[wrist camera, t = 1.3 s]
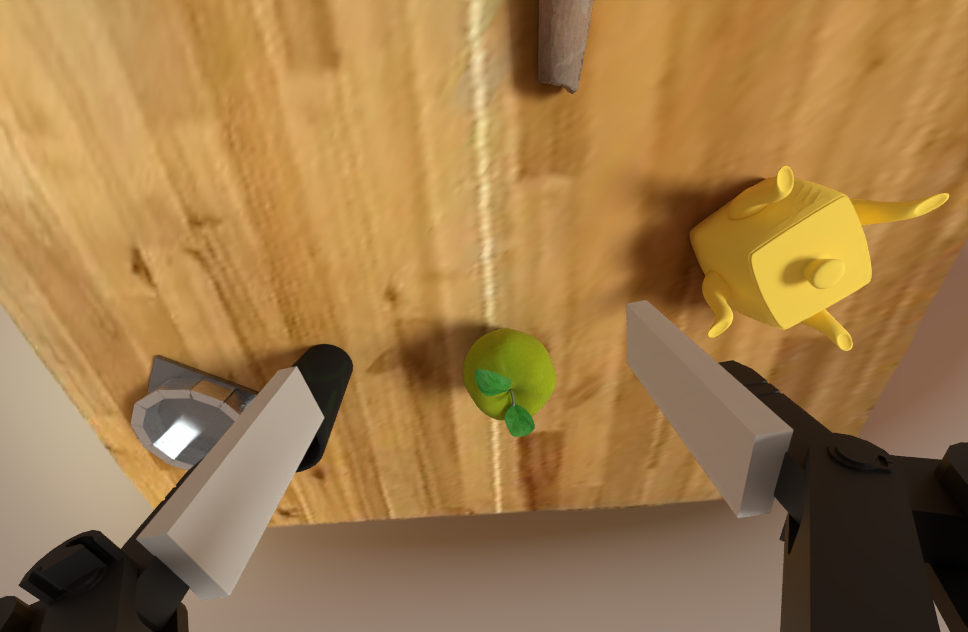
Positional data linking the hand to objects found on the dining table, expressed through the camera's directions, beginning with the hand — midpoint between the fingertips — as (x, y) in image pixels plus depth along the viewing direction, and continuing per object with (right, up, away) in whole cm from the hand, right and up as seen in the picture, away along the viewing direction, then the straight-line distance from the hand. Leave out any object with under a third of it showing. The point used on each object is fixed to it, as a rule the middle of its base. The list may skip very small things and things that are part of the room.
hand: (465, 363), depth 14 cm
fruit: (+3, -2, +27) cm, 27 cm away
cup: (-17, -4, +27) cm, 32 cm away
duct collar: (-34, -11, +30) cm, 46 cm away
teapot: (+28, +10, +22) cm, 37 cm away
